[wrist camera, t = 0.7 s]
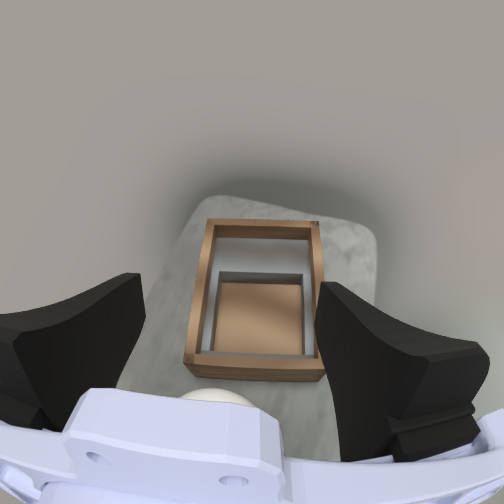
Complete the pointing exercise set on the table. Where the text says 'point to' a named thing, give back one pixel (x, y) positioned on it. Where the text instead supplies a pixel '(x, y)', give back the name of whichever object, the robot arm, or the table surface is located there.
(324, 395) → the table surface
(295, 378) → the socket box
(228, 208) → the table surface
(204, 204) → the table surface
